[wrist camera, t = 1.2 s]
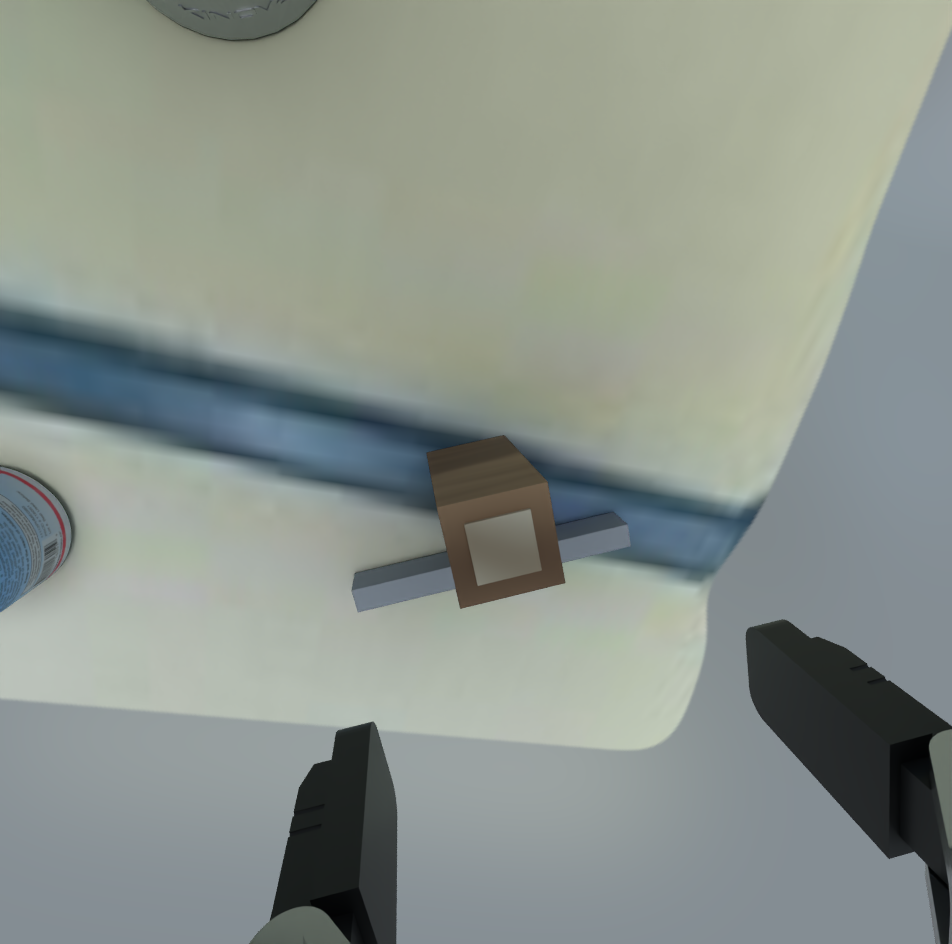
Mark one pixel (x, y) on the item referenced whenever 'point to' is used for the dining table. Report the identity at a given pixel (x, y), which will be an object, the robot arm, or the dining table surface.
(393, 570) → the rail
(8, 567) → the pill bottle
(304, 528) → the dining table surface
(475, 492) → the walnut block
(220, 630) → the dining table surface
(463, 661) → the dining table surface
